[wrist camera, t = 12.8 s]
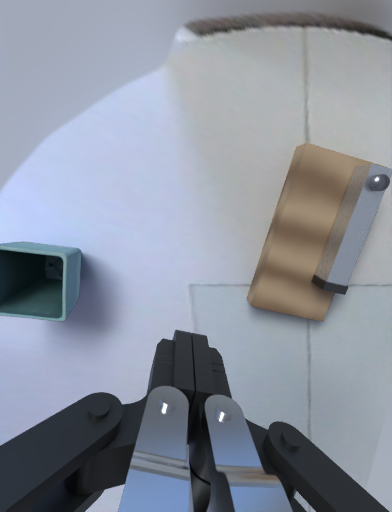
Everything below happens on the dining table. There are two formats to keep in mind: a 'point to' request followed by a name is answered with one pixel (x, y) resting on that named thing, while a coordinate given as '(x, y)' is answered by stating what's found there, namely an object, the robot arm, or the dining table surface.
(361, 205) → the hinged leg
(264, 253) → the wooden board with bar
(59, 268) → the flower pot
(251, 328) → the dining table surface
